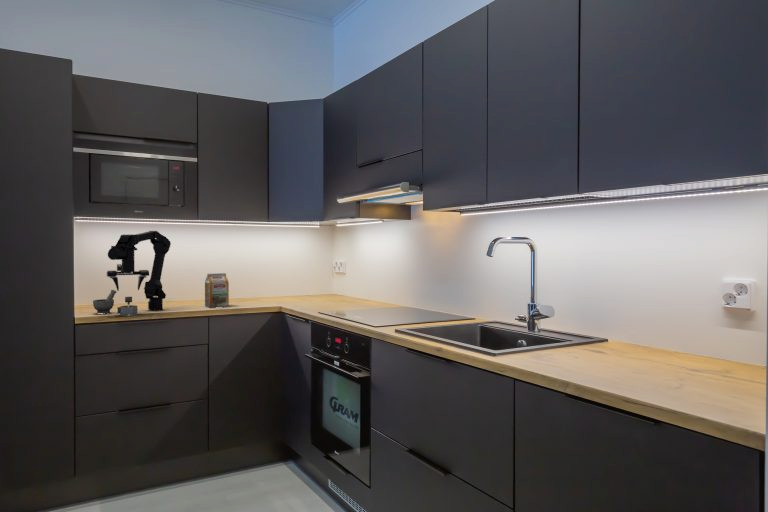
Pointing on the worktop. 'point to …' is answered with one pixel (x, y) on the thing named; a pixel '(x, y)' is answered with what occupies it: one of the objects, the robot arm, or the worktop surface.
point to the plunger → (128, 300)
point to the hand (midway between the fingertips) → (128, 290)
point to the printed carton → (216, 290)
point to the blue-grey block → (127, 310)
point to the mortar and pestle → (104, 303)
